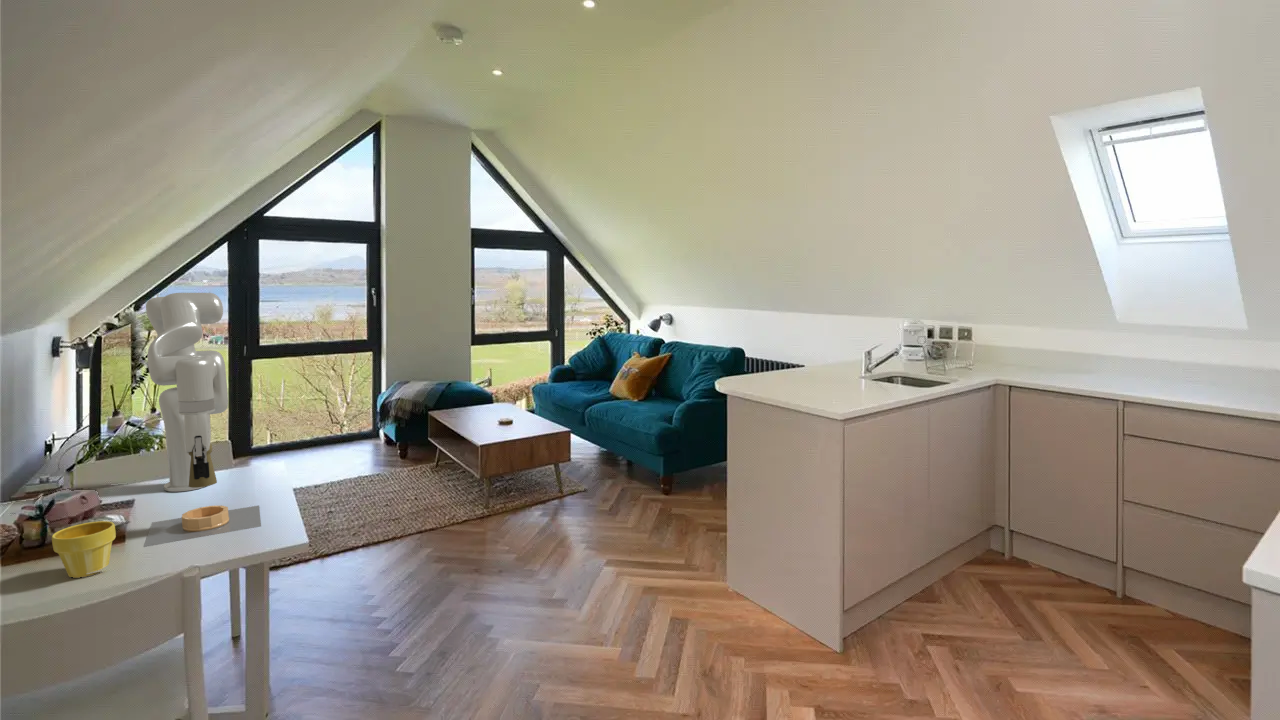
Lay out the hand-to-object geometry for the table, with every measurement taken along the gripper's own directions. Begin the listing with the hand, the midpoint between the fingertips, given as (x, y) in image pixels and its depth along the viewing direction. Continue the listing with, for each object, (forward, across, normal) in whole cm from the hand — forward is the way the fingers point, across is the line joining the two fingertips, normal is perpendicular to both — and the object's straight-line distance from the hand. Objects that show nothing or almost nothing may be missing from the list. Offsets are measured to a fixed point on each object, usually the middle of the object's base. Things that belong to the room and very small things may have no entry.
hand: (202, 475), depth 159 cm
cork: (+2, 0, 0) cm, 2 cm away
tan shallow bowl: (+13, 0, 0) cm, 13 cm away
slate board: (+14, 0, 0) cm, 14 cm away
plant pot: (+14, +16, -21) cm, 30 cm away
